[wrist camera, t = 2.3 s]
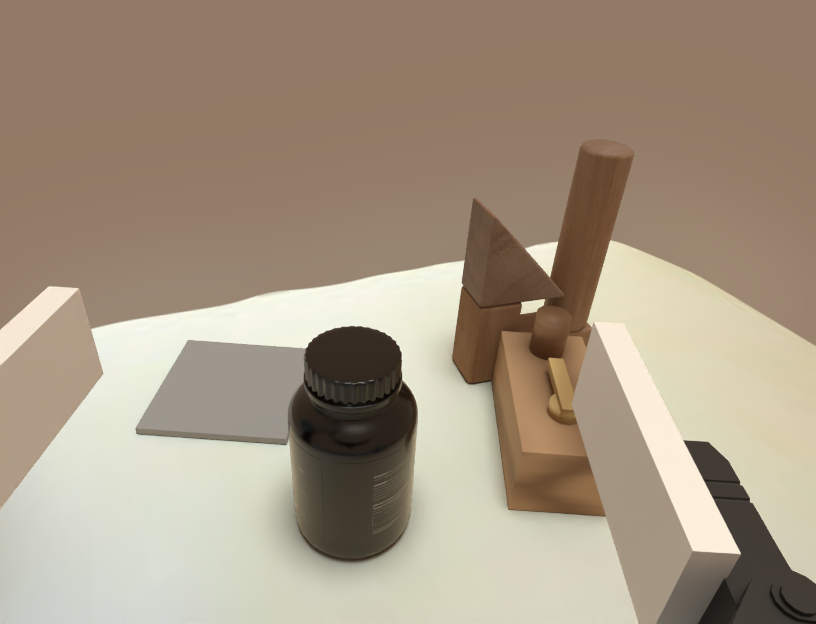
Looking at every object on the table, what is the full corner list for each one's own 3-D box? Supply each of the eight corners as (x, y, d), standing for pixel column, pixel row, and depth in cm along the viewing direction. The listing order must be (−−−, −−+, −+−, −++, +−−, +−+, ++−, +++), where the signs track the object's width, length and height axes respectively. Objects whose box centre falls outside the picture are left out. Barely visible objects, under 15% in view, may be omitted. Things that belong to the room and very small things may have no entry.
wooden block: (450, 358, 48) (479, 141, 38) (562, 340, 51) (615, 136, 42) (468, 386, 45) (504, 160, 36) (585, 365, 49) (648, 153, 39)
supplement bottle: (394, 460, 38) (406, 308, 32) (422, 551, 33) (444, 389, 26) (289, 477, 37) (278, 319, 30) (300, 575, 31) (290, 408, 25)
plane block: (508, 509, 36) (532, 412, 31) (491, 382, 46) (507, 296, 41) (605, 516, 36) (642, 420, 31) (567, 388, 46) (591, 302, 42)
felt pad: (136, 433, 39) (135, 428, 39) (189, 345, 47) (188, 340, 47) (286, 444, 39) (285, 439, 39) (311, 354, 47) (311, 349, 47)
